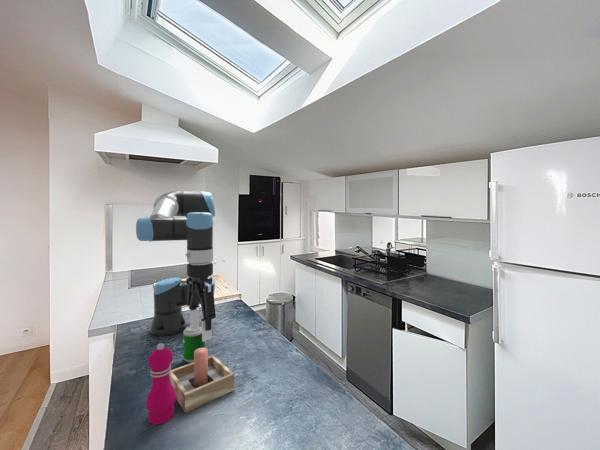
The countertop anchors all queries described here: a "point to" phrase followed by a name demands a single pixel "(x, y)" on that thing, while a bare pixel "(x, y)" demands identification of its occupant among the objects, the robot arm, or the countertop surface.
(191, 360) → the soda can
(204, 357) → the peg
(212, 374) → the box
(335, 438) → the countertop surface
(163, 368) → the pepper mill
